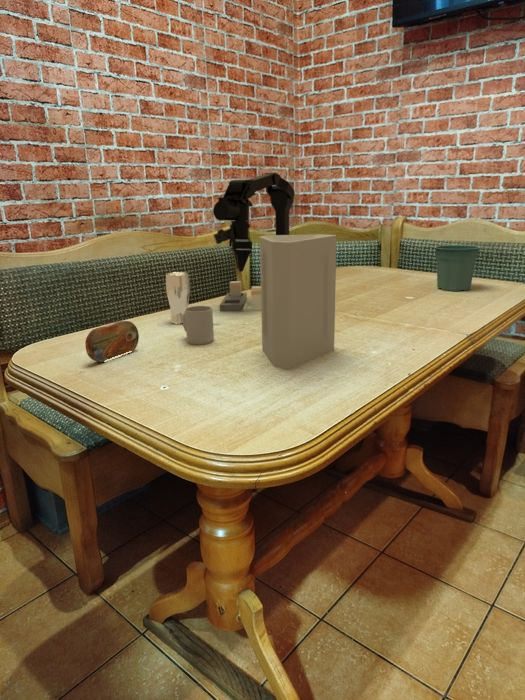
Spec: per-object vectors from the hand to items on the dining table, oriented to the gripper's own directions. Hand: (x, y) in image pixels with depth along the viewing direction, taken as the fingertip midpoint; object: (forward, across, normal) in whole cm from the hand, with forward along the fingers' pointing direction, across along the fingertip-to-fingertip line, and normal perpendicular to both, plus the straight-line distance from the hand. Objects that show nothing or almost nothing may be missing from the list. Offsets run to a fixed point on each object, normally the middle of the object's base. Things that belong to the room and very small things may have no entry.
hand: (239, 270), depth 165 cm
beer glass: (+15, +11, -19) cm, 27 cm away
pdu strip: (+13, -6, -1) cm, 15 cm away
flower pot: (+9, -20, +85) cm, 88 cm away
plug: (+12, 0, +6) cm, 14 cm away
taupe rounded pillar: (+16, +48, +8) cm, 52 cm away
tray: (+13, 0, +6) cm, 15 cm away
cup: (+16, +32, -14) cm, 38 cm away
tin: (+18, +42, -34) cm, 57 cm away
